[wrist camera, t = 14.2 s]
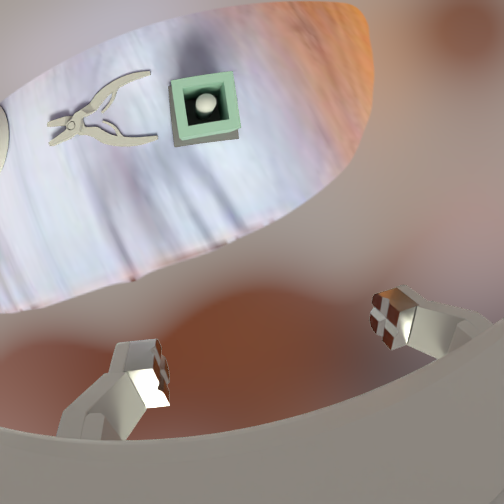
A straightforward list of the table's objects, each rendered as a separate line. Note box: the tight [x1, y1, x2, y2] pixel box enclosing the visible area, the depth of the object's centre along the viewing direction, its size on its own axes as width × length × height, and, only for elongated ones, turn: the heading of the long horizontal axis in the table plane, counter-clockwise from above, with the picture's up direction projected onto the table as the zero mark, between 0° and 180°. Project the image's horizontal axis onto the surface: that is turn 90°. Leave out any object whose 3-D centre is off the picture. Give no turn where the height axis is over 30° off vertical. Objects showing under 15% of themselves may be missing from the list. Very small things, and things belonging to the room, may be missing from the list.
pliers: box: [47, 71, 158, 146], centre depth 29 cm, size 10×2×15 cm
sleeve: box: [171, 71, 241, 141], centre depth 28 cm, size 6×6×8 cm
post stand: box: [168, 86, 239, 147], centre depth 29 cm, size 8×8×8 cm
